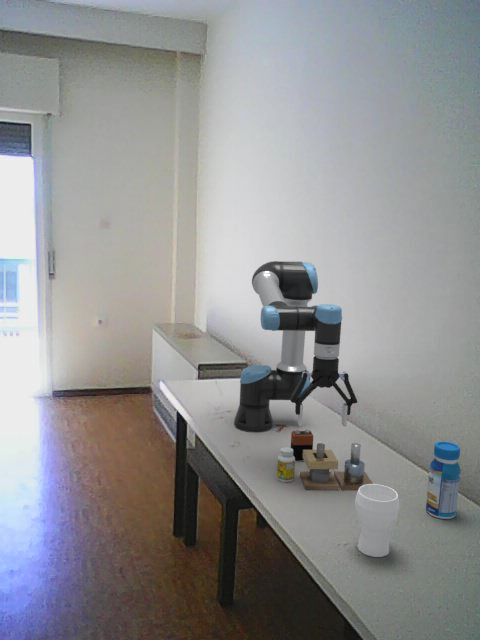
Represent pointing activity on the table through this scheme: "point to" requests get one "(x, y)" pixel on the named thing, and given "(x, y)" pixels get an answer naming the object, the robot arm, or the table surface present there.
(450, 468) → the beverage bottle
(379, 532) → the cup
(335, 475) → the peg stand
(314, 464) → the brass plate
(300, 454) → the battery
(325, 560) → the table surface
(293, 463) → the supplement bottle
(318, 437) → the table surface
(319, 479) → the rod stand
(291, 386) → the robot arm
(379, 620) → the table surface
